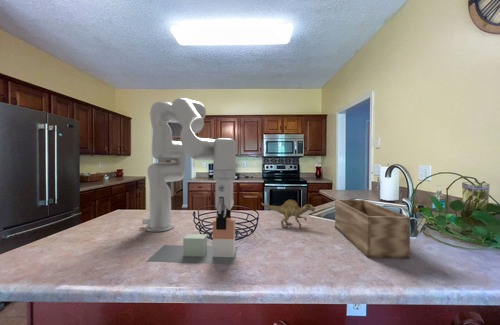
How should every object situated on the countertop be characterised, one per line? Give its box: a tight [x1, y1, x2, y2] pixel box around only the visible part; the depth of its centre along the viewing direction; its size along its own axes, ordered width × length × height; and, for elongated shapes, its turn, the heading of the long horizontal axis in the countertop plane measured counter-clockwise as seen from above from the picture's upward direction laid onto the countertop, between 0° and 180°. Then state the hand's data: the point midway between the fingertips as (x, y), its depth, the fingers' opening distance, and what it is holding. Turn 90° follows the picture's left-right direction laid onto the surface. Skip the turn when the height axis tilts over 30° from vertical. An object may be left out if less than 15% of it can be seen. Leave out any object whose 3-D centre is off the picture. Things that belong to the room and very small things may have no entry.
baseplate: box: [146, 244, 239, 265], centre depth 74 cm, size 28×13×1 cm, turn 87°
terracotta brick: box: [212, 217, 236, 240], centre depth 73 cm, size 7×4×6 cm, turn 87°
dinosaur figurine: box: [260, 199, 316, 229], centre depth 108 cm, size 8×26×13 cm, turn 80°
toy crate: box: [334, 199, 411, 260], centre depth 89 cm, size 14×32×14 cm, turn 177°
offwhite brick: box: [212, 236, 236, 257], centre depth 73 cm, size 7×4×6 cm, turn 87°
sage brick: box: [182, 233, 208, 257], centre depth 74 cm, size 7×4×6 cm, turn 87°
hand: (223, 224), depth 73 cm, fingers open, 9 cm apart
